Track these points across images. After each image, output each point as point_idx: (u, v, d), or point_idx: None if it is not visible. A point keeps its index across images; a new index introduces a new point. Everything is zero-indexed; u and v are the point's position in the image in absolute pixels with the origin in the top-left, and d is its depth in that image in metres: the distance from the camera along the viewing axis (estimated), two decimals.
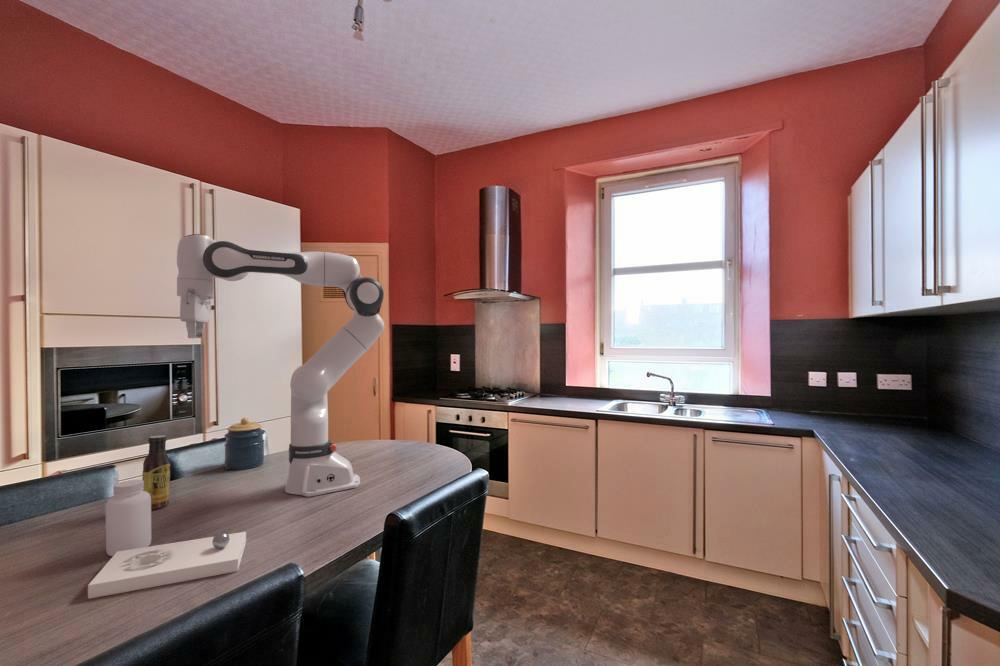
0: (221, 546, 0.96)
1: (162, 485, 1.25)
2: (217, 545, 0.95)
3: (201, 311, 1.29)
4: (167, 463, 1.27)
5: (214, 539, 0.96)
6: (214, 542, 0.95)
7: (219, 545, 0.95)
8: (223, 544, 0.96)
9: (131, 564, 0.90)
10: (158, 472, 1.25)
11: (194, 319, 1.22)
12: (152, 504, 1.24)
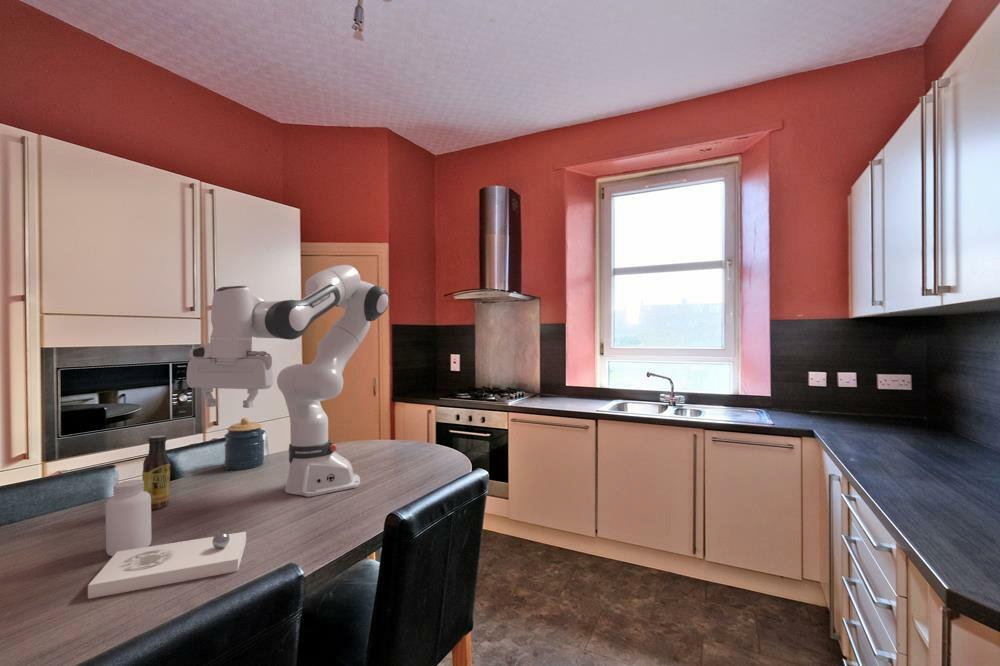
0: (221, 546, 0.96)
1: (162, 485, 1.25)
2: (217, 545, 0.95)
3: None
4: (167, 463, 1.27)
5: (214, 539, 0.96)
6: (214, 542, 0.95)
7: (219, 545, 0.95)
8: (223, 544, 0.96)
9: (131, 564, 0.90)
10: (158, 472, 1.25)
11: None
12: (152, 504, 1.24)
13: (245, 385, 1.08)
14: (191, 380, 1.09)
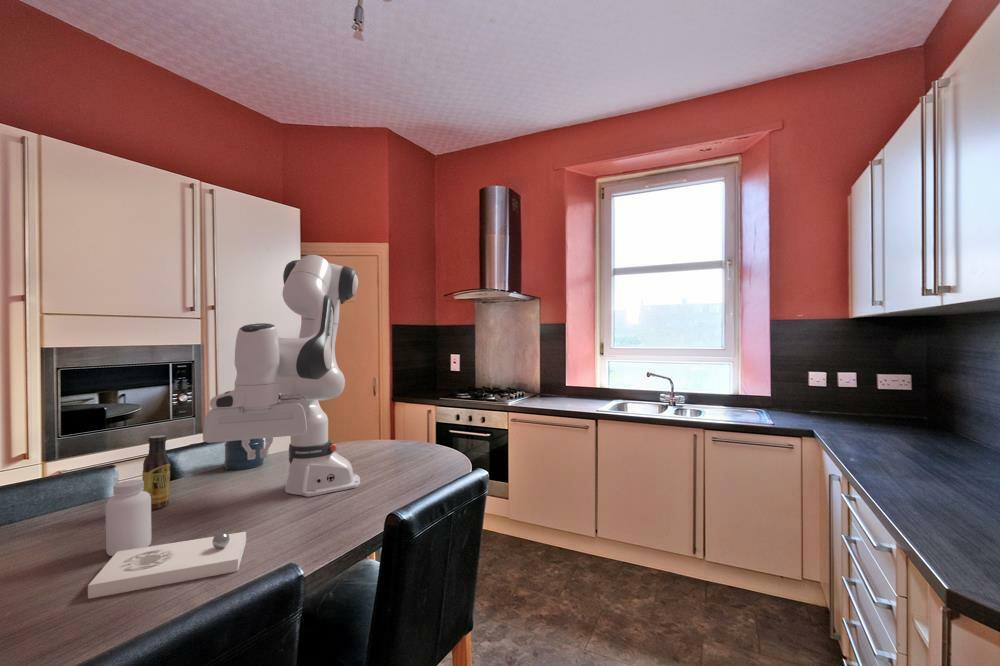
0: (221, 546, 0.96)
1: (162, 485, 1.25)
2: (217, 545, 0.95)
3: None
4: (167, 463, 1.27)
5: (214, 539, 0.96)
6: (214, 542, 0.95)
7: (219, 545, 0.95)
8: (223, 544, 0.96)
9: (131, 564, 0.90)
10: (158, 472, 1.25)
11: None
12: (152, 504, 1.24)
13: (282, 433, 1.00)
14: (211, 434, 0.95)
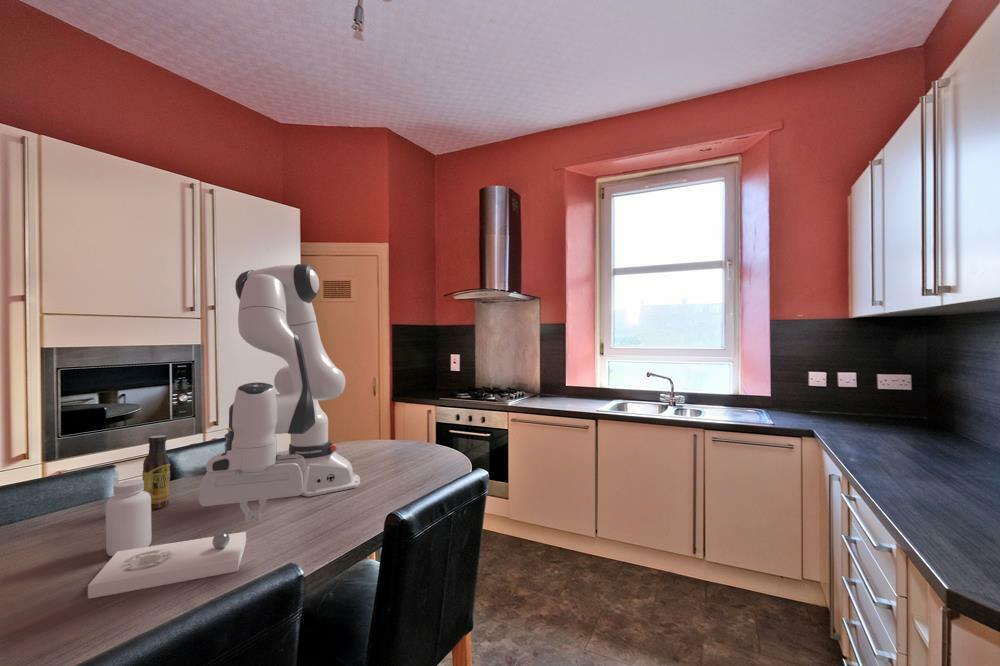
0: (221, 546, 0.96)
1: (162, 485, 1.25)
2: (217, 545, 0.95)
3: None
4: (167, 463, 1.27)
5: (214, 539, 0.96)
6: (214, 542, 0.95)
7: (219, 545, 0.95)
8: (223, 544, 0.96)
9: (131, 564, 0.90)
10: (158, 472, 1.25)
11: None
12: (152, 504, 1.24)
13: (278, 494, 0.99)
14: (207, 497, 0.94)
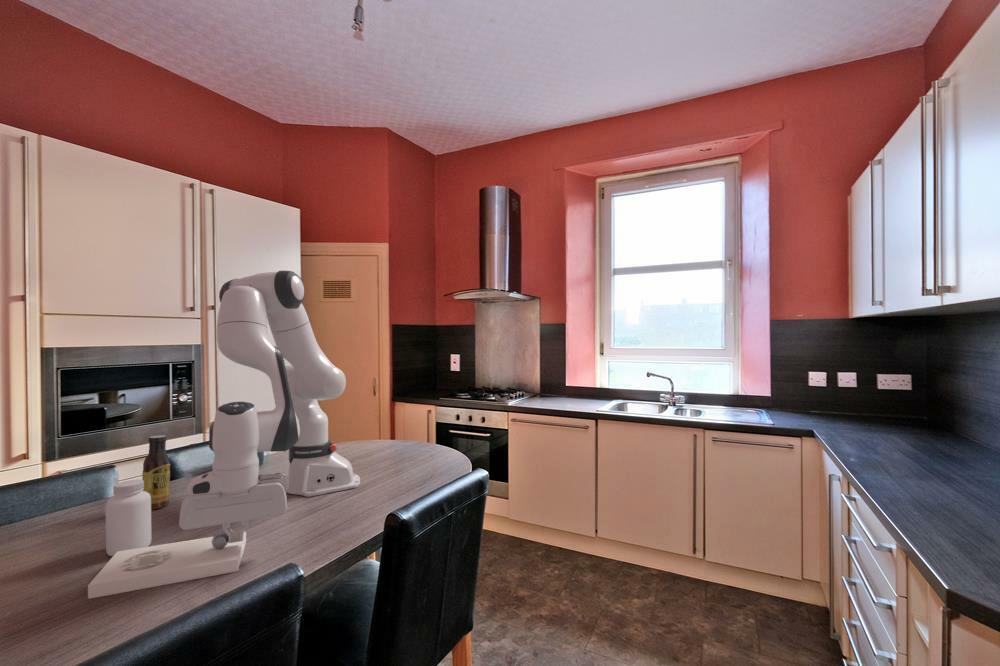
0: (221, 546, 0.96)
1: (162, 485, 1.25)
2: (217, 545, 0.95)
3: None
4: (167, 463, 1.27)
5: (213, 540, 0.96)
6: (213, 543, 0.95)
7: (218, 545, 0.95)
8: (222, 544, 0.96)
9: (131, 564, 0.90)
10: (158, 472, 1.25)
11: None
12: (152, 504, 1.24)
13: (261, 515, 0.98)
14: (187, 520, 0.93)
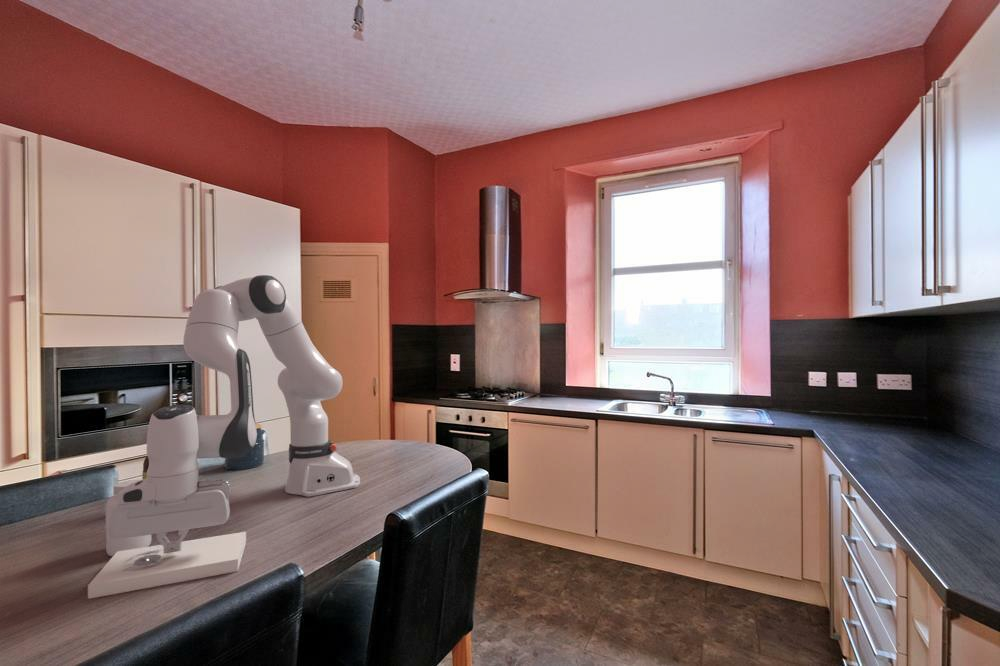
0: (140, 564, 0.90)
1: None
2: None
3: None
4: None
5: None
6: None
7: None
8: (137, 565, 0.90)
9: (131, 564, 0.90)
10: None
11: None
12: None
13: (200, 523, 0.94)
14: (118, 530, 0.88)
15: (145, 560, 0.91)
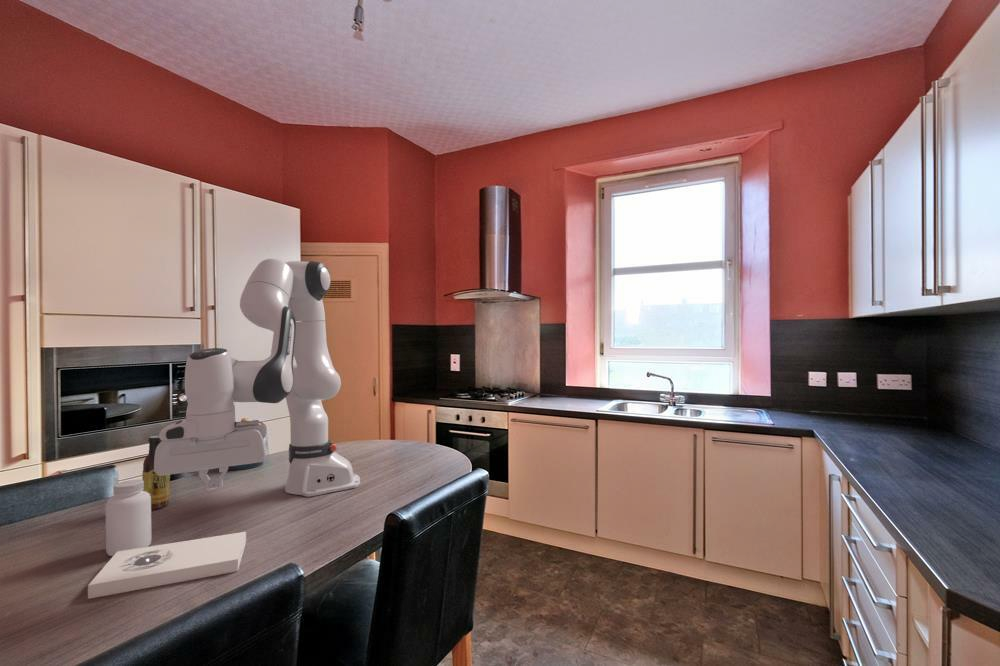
0: (140, 564, 0.90)
1: (162, 485, 1.25)
2: None
3: None
4: None
5: None
6: None
7: None
8: (138, 565, 0.90)
9: (131, 564, 0.90)
10: None
11: None
12: (152, 504, 1.24)
13: (239, 461, 0.97)
14: (162, 466, 0.91)
15: (145, 560, 0.91)
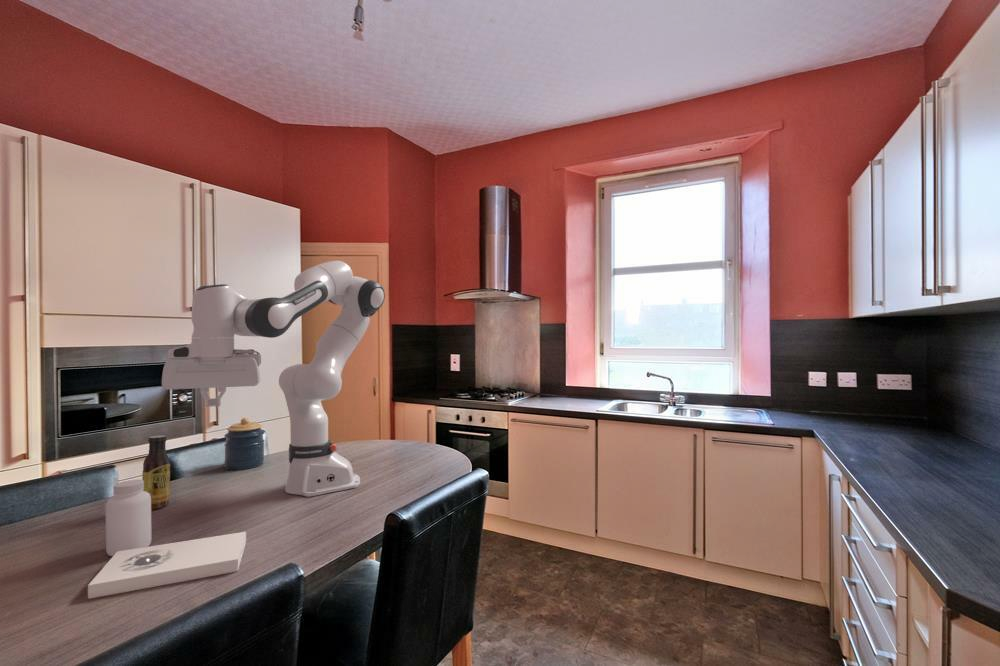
0: (141, 563, 0.90)
1: (162, 485, 1.25)
2: None
3: None
4: (167, 463, 1.27)
5: None
6: None
7: None
8: (138, 565, 0.90)
9: (131, 564, 0.90)
10: (158, 472, 1.25)
11: None
12: (152, 504, 1.24)
13: (236, 383, 1.10)
14: (169, 381, 1.05)
15: (146, 560, 0.91)
